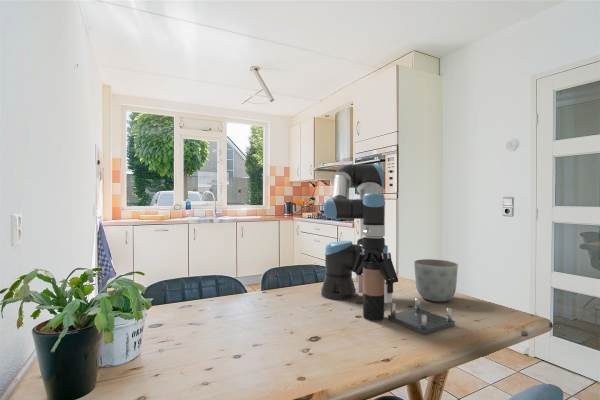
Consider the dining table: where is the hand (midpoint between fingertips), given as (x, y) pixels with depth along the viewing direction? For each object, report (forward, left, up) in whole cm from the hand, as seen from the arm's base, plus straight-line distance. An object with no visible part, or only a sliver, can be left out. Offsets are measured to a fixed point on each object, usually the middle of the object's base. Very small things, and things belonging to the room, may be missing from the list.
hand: (373, 297), depth 113 cm
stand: (+11, +11, -7) cm, 17 cm away
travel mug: (0, 0, -7) cm, 7 cm away
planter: (-3, +38, -7) cm, 39 cm away
